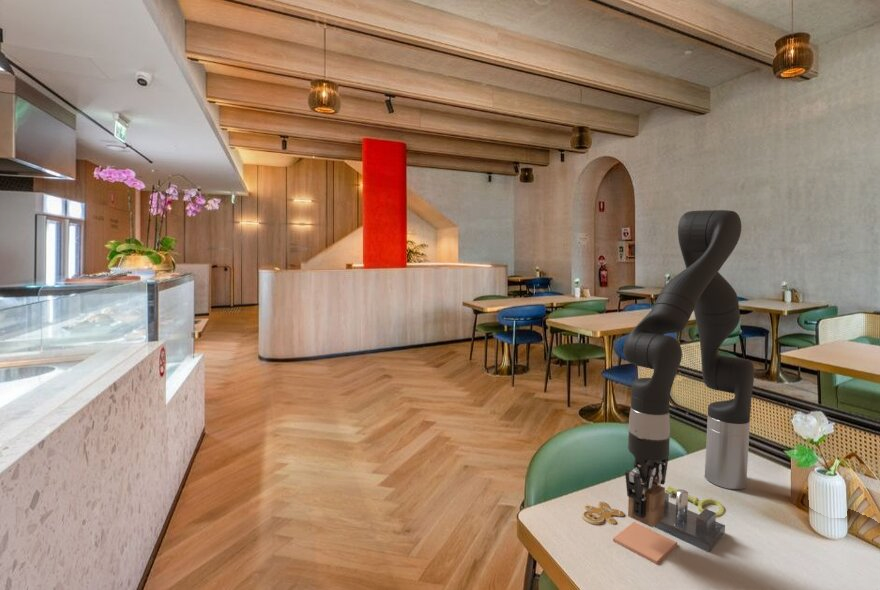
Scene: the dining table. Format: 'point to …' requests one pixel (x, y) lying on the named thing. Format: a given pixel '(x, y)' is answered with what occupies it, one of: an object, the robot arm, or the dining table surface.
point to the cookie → (601, 514)
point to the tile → (645, 542)
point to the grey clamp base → (690, 523)
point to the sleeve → (650, 506)
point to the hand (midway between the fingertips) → (645, 510)
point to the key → (700, 502)
